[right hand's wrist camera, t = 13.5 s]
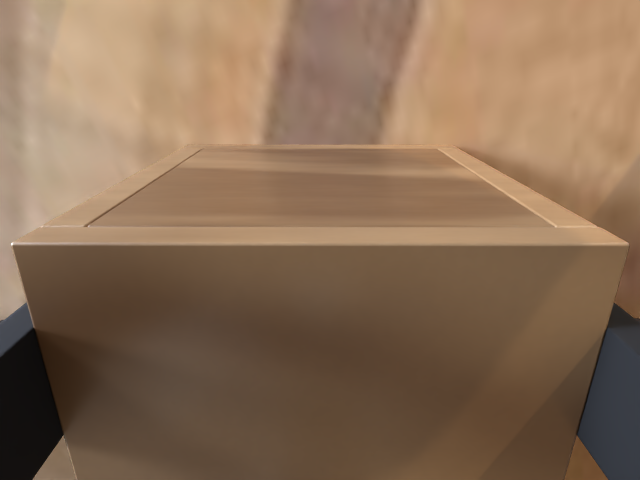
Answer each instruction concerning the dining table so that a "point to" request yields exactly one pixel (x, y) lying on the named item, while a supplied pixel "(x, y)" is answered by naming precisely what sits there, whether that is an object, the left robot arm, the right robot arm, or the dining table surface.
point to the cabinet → (320, 318)
